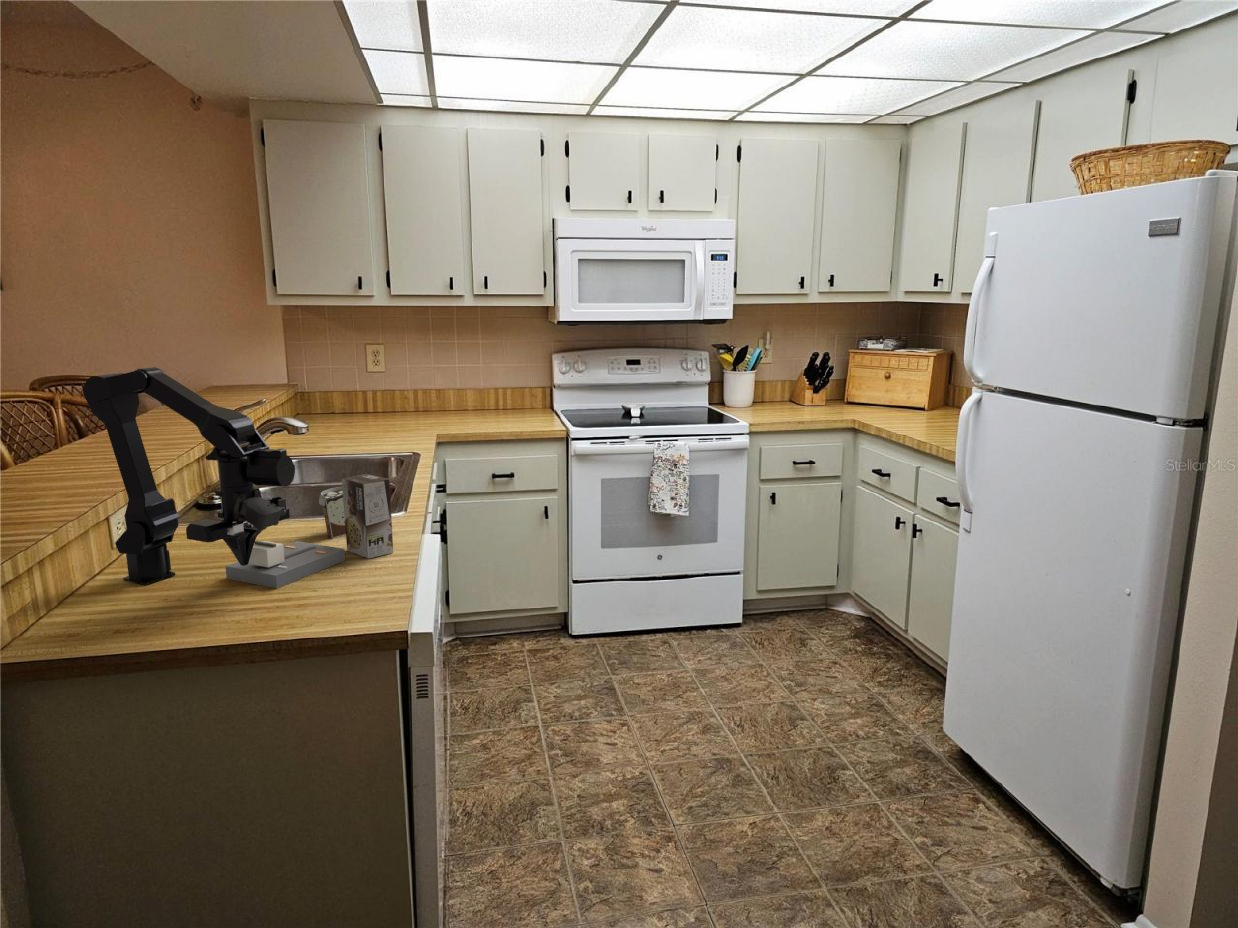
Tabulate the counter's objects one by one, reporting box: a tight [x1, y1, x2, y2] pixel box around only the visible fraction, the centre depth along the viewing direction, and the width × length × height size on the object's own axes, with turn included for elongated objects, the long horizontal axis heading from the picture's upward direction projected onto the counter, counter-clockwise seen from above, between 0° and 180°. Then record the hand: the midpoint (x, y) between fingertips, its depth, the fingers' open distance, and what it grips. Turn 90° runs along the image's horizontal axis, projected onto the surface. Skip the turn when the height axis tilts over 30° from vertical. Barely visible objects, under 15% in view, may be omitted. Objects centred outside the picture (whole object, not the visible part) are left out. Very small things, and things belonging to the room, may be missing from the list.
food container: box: [318, 486, 346, 540], centre depth 187 cm, size 12×6×10 cm, turn 144°
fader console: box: [225, 540, 346, 589], centre depth 161 cm, size 18×13×3 cm
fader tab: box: [249, 540, 285, 567], centre depth 156 cm, size 4×5×4 cm
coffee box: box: [341, 473, 394, 559], centre depth 172 cm, size 9×6×16 cm
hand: (244, 565), depth 152 cm, fingers closed
